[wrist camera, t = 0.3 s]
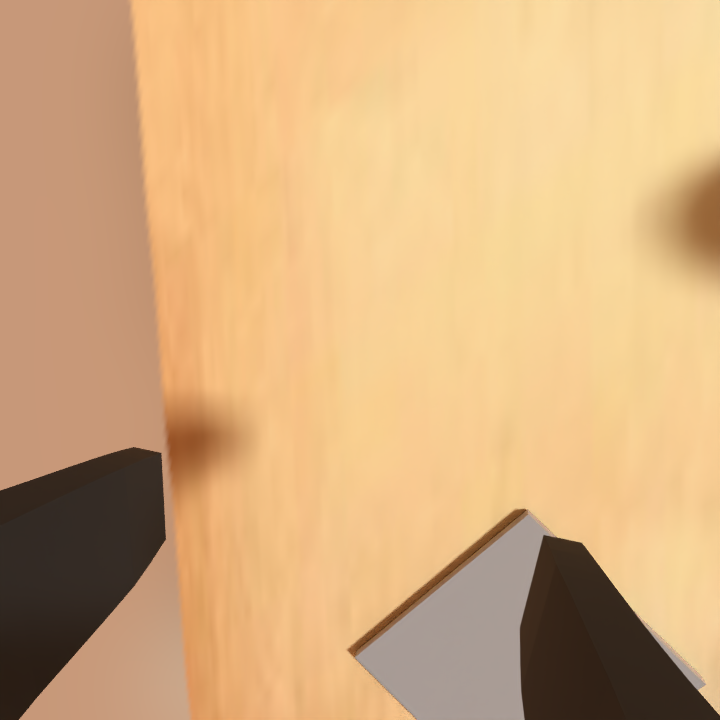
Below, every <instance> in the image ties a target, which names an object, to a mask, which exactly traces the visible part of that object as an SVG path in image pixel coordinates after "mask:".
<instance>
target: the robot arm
mask: <svg viewBox="0 0 720 720" xmlns="http://www.w3.org/2000/svg"><path fill="white" fill-rule="evenodd" d="M165 540H166V535H165V515H164V497H163V477H162V459H161V453H158V452H154V451H149V450H144V449H140V448H134V447H133V448H129V449H125V450H121V451H117V452H114V453H111V454H107V455H104V456H101V457H98V458H95V459H92V460H89V461H86V462H83V463H80V464H77V465H74V466H71V467H68V468H65V469H63V470H59V471H56V472H54V473H51V474H48V475H45V476H42V477H39V478H36V479H33V480H30V481H28V482H24V483H22V484H19V485H16V486H13V487H10V488H7V489H4V490H1V491H0V720H19V719H20V717H21V716H22V715H23V714H24V713H25V711H26V710H27V709H28V708H29V706H30V705H31V704H32V703H33V702H34V700H35V699H36V698H37V697H38V696H39V695H40V693H41V692H42V691H43V690H44V689H45V688H46V687H47V685H48V684H49V683H50V682H51V681H52V680H53V679H54V677H55V676H56V675H57V674H58V673H59V672H60V671H61V669H62V668H63V667H64V666H65V665H66V664H67V663H68V662H69V660H70V659H71V658H72V657H73V656H74V655H75V654H76V652H77V651H78V650H79V649H80V648H81V647H82V645H84V643H85V642H86V641H87V640H88V639H89V638H90V637H91V635H92V634H93V633H94V632H95V631H96V629H97V628H98V627H99V626H100V625H101V624H102V623H103V622H104V621H105V619H106V618H107V617H108V616H109V615H110V614H111V612H112V611H113V610H114V609H115V608H116V607H117V605H118V604H119V603H120V602H121V601H122V600H123V599H124V597H125V596H126V595H127V594H128V593H129V591H130V590H131V589H132V588H133V587H134V586H135V584H136V583H137V581H138V580H139V578H140V577H141V576H142V574H143V573H144V571H145V570H146V568H147V567H148V565H149V564H150V563H151V561H152V560H153V558H154V557H155V555H156V553H157V552H158V550H159V549H160V547H161V546H162V544H163V543H164V541H165ZM520 671H521V694H522V703H523V711H524V719H525V720H720V715H719V714H718V713H717V712H716V711H715V710H714V709H713V707H712V706H711V705H710V704H709V703H708V702H707V701H706V699H705V698H704V697H703V696H702V695H701V694H700V693H699V691H698V690H697V689H696V688H695V687H694V686H693V684H692V683H691V682H690V681H689V680H688V678H687V677H686V676H685V675H684V674H683V672H682V671H681V670H680V669H679V668H678V666H677V665H676V664H675V663H674V662H673V660H672V659H671V658H670V657H669V655H668V654H667V653H666V652H665V651H664V649H663V648H662V647H661V646H660V644H659V643H658V642H657V641H656V639H655V638H654V637H653V636H652V634H651V633H650V632H649V631H648V629H647V628H646V627H645V625H644V624H643V623H642V622H641V620H640V619H639V618H638V616H637V615H636V614H635V613H634V611H633V610H632V609H631V607H630V606H629V605H628V603H627V602H626V601H625V600H624V598H623V597H622V596H621V594H620V593H619V592H618V590H617V589H616V588H615V586H614V585H613V584H612V582H611V581H610V580H609V578H608V577H607V576H606V574H605V573H604V572H603V570H602V569H601V568H600V566H599V565H598V564H597V562H596V561H595V560H594V558H593V557H592V556H591V554H590V553H589V552H588V550H587V549H586V548H585V546H584V545H583V544H582V543H579V542H575V541H570V540H565V539H561V538H556V537H551V536H547V535H543V539H542V543H541V547H540V551H539V554H538V558H537V562H536V566H535V570H534V574H533V578H532V582H531V586H530V590H529V593H528V597H527V601H526V605H525V609H524V613H523V617H522V621H521V625H520Z"/></svg>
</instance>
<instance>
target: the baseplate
mask: <svg viewBox="0 0 720 720" xmlns="http://www.w3.org/2000/svg"><path fill="white" fill-rule="evenodd" d="M543 535H547V536H551V537H556V536H554V535H553V534H552V533H551V532H550V531H549V530H548V529H547V528H546V527H545V526H544V525H543V524H542V523H541V522H540V521H539V520H538V519H537V518H536V517H535V516H534V515H533V514H532V513H530V512H529V511H528V510H526V511H525V512H524V513H523V514H521V515H520V516H519V517H518V518H516V519H515V520H514V521H513V522H512V523H510V524H509V525H508V526H507V527H506V528H504V529H503V530H502V531H501V532H500V533H498V534H497V535H496V536H495V537H494V538H492V539H491V540H490V541H489V542H487V543H486V544H485V545H484V546H483V547H481V548H480V549H479V550H478V551H477V552H475V553H474V554H473V555H472V556H471V557H469V558H468V559H467V560H466V561H465V562H463V563H462V564H461V565H460V566H458V567H457V568H456V569H455V570H454V571H452V572H451V573H450V574H449V575H448V576H446V577H445V578H444V579H443V580H442V581H440V582H439V583H438V584H437V585H436V586H434V587H433V588H432V589H431V590H430V591H428V592H427V593H426V594H425V595H423V596H422V597H421V598H420V599H419V600H417V601H416V602H415V603H414V604H413V605H411V606H410V607H409V608H408V609H407V610H405V611H404V612H403V613H402V614H401V615H399V616H398V617H397V618H396V619H394V620H393V621H392V622H391V623H390V624H388V625H387V626H386V627H385V628H384V629H382V630H381V631H380V632H379V633H378V634H376V635H375V636H374V637H373V638H372V639H370V640H369V641H368V642H367V643H365V644H364V645H363V646H362V647H361V648H359V649H358V650H357V651H356V655H355V659H356V660H357V661H358V662H359V663H360V664H361V665H362V666H363V667H364V668H365V669H367V670H368V671H369V672H370V673H371V674H372V675H373V676H374V677H375V678H376V679H377V680H378V681H379V682H380V683H381V684H382V685H383V686H384V687H385V688H386V689H387V690H388V691H389V692H390V693H391V694H392V695H393V696H394V697H395V698H396V699H397V700H398V701H399V702H400V703H401V704H402V705H403V706H404V707H405V708H406V709H407V710H408V711H409V712H410V713H411V714H412V715H413V716H414V717H415V718H416V719H417V720H525V719H524V711H523V703H522V694H521V671H520V625H521V621H522V617H523V613H524V609H525V605H526V601H527V597H528V593H529V590H530V586H531V582H532V578H533V574H534V570H535V566H536V562H537V558H538V554H539V551H540V547H541V543H542V539H543ZM556 538H557V537H556ZM634 613H635V612H634ZM635 614H636V613H635ZM636 615H637V614H636ZM637 616H638V615H637ZM638 618H639V619H640V620H641V622H642V623H643V624H644V625H645V627H646V628H647V629H648V631H649V632H650V633H651V634H652V636H653V637H654V638H655V639H656V641H657V642H658V643H659V644H660V646H661V647H662V648H663V649H664V651H665V652H666V653H667V654H668V655H669V657H670V658H671V659H672V660H673V662H674V663H675V664H676V665H677V666H678V668H679V669H680V670H681V671H682V672H683V674H684V675H685V676H686V677H687V678H688V680H689V681H690V682H691V683H692V684H693V686H694V687H695V688H696V689H697V690H698V689H700V688H702V687H703V686H705V685H706V684H705V682H704V680H703V679H702V677H701V676H700V675H699V674H698V673H697V672H696V671H695V670H694V669H693V668H692V667H691V666H690V665H689V664H688V663H687V662H686V661H685V660H684V659H683V658H682V657H681V656H680V655H678V654H677V653H676V652H675V651H674V650H673V649H672V648H671V647H670V646H669V645H668V644H667V643H666V642H665V641H664V640H663V639H662V638H661V637H660V636H659V635H658V634H657V633H656V632H655V631H653V630H652V629H651V628H650V627H649V626H648V625H647V624H646V623H645V622H644V621H643V620H642V619H641V618H640V617H639V616H638Z"/></svg>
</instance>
